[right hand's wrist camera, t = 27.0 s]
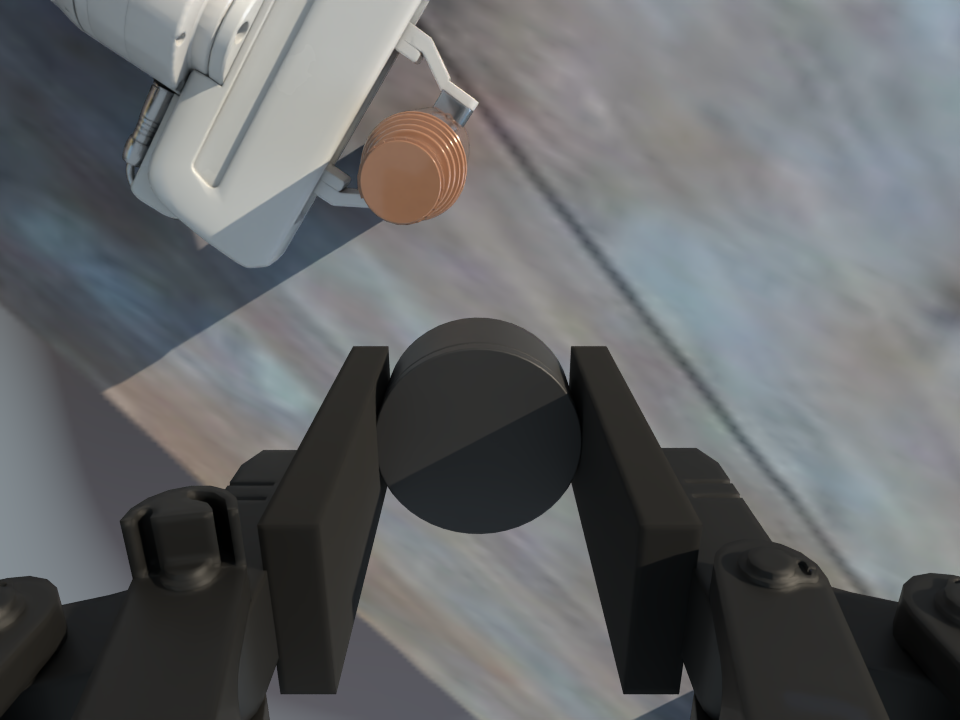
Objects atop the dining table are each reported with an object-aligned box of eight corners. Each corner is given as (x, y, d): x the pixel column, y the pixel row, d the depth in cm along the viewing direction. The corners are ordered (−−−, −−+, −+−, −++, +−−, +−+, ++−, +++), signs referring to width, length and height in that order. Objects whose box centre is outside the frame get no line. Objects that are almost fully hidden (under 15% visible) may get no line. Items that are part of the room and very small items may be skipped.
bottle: (459, 99, 39) (447, 99, 21) (476, 174, 41) (478, 231, 23) (387, 117, 39) (317, 132, 22) (407, 191, 41) (357, 260, 23)
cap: (349, 392, 14) (329, 434, 12) (491, 278, 13) (493, 305, 12) (466, 513, 15) (464, 568, 14) (605, 415, 14) (623, 459, 13)
